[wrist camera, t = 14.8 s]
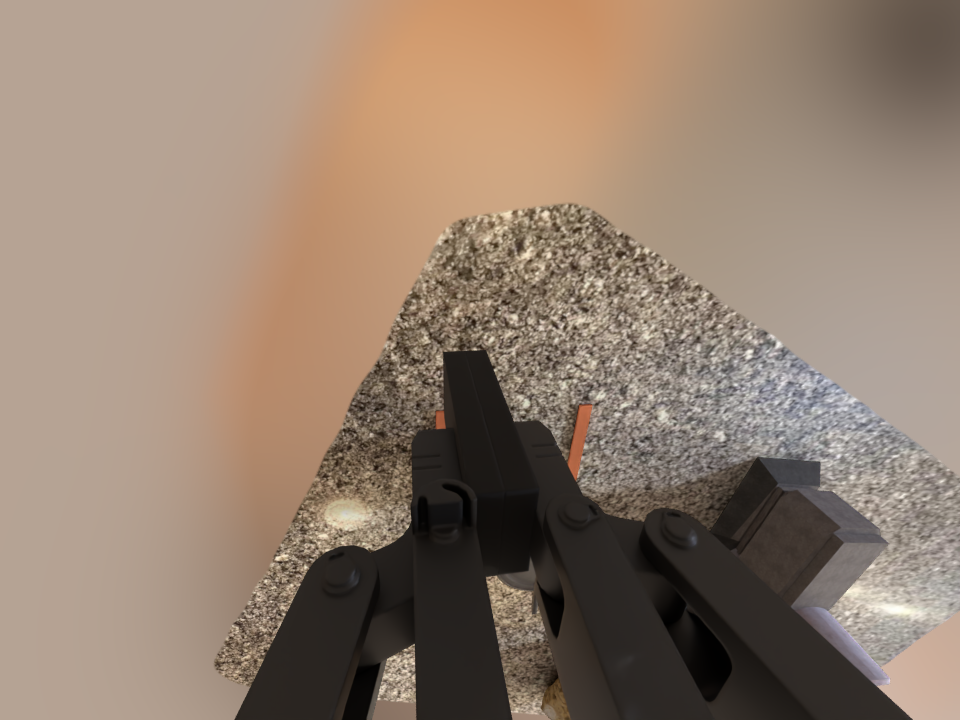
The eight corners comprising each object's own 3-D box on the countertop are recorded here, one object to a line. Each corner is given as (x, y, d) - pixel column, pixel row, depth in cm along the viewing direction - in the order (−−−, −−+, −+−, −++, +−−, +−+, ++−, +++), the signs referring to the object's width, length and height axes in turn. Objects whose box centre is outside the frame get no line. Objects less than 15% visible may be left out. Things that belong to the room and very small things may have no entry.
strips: (435, 410, 45) (436, 412, 45) (591, 404, 49) (592, 405, 48) (434, 491, 51) (434, 492, 51) (575, 480, 54) (576, 482, 54)
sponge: (577, 684, 82) (643, 649, 72) (581, 735, 75) (655, 705, 65) (520, 665, 80) (581, 626, 69) (520, 715, 73) (587, 681, 63)
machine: (735, 592, 74) (872, 773, 52) (660, 593, 70) (774, 789, 48) (830, 463, 61) (1060, 630, 40) (746, 455, 58) (950, 636, 36)
